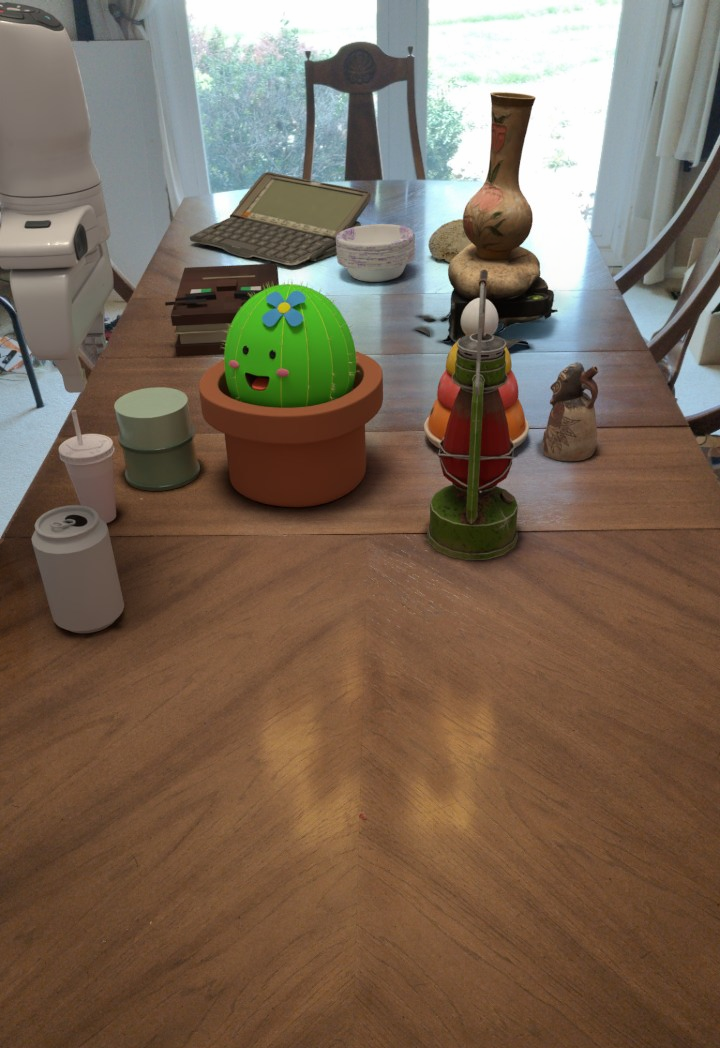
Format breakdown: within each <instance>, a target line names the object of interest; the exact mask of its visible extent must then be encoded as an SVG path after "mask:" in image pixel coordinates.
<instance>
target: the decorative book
mask: <svg viewBox="0 0 720 1048" xmlns="http://www.w3.org/2000/svg"><path fill="white" fill-rule="evenodd" d="M181 275H182V276H181V278H180V282H179V286H178V290H177V291H176V296H175V297H174V300H173V301H165V302H164V305H165V306H173V308H172V309H171V314H170V320H171V326H172V327H175V330H174V334H175V335H177V339H176V342H175V353H176V357H187V356H208V355H209V356H210V355H224V351H225V349H223V348H225V345H224V344H225V343H226V342H223V341H226V338H227V334H228V332H227V331H228V330H229V328H230V326H229V325H231V323H232V321H233V319H234V317H235V315H236V314H237V312H238V311H239V310H240V308H241V307H242V306H243V305H244V304H245V303H246V302H247V301H248V300H249V299H250V298H251V297H253V296H254V295H256V294H257V293H259V292H261V291H263V290H265V289H267V287H266V286H267V284H268V288H269V286H270V287H272V286H273V285H274V286H276V285H280V280H279V268H278V262H275V263H255V264H253V263H252V264H235V265H234V264H231V265H214V266H213V265H212V266H211V265H210V266H190V267H184V268H183V272H182V274H181ZM268 282H269V283H268ZM271 284H272V285H271ZM263 285H264V286H263ZM264 287H265V288H264ZM253 291H254V292H253ZM248 293H249V294H250V295H249V294H248ZM251 293H252V294H253V295H252V294H251ZM254 293H255V294H254ZM250 296H251V297H250ZM226 323H227V324H228V325H227V324H226ZM226 332H227V333H226ZM221 339H222V340H223V341H222V340H221ZM222 343H223V344H222ZM220 347H221V348H220ZM222 347H223V348H222Z"/></svg>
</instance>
